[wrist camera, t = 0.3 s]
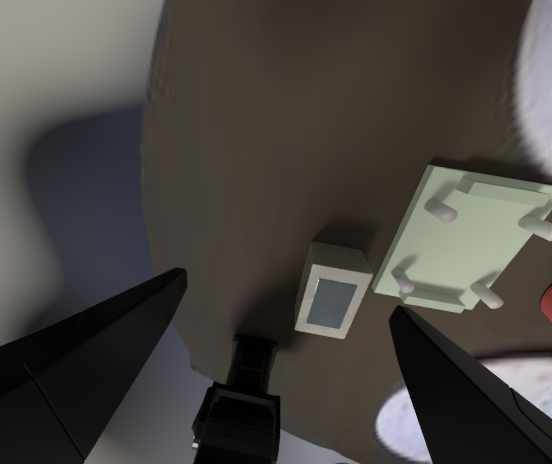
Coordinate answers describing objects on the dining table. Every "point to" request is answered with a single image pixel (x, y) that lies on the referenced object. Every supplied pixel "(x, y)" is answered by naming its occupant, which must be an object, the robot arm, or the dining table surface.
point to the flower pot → (547, 303)
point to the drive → (330, 289)
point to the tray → (461, 237)
